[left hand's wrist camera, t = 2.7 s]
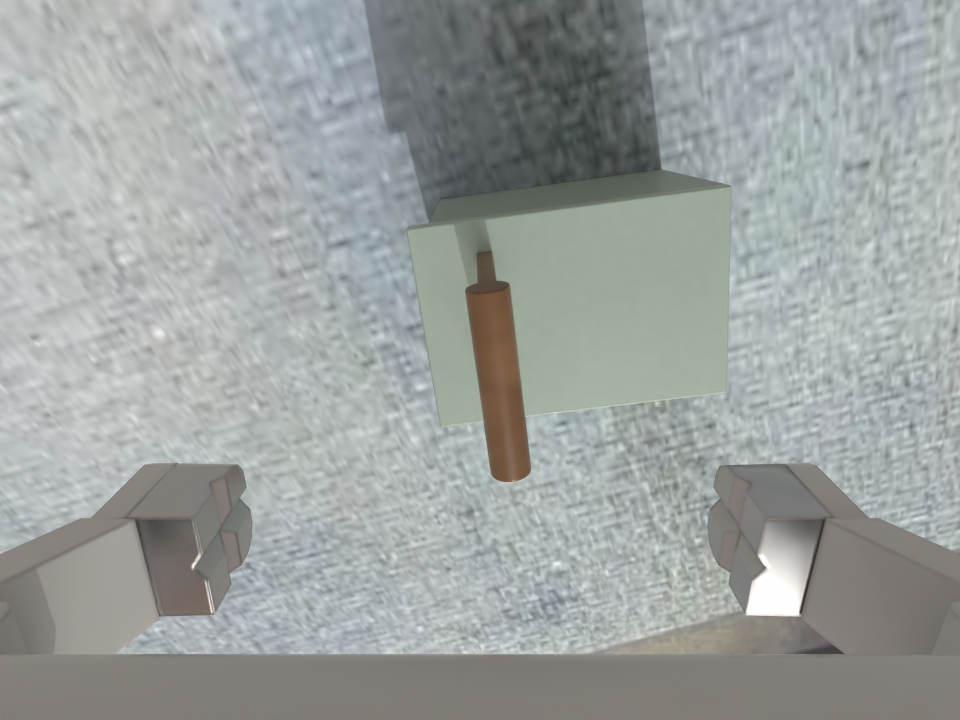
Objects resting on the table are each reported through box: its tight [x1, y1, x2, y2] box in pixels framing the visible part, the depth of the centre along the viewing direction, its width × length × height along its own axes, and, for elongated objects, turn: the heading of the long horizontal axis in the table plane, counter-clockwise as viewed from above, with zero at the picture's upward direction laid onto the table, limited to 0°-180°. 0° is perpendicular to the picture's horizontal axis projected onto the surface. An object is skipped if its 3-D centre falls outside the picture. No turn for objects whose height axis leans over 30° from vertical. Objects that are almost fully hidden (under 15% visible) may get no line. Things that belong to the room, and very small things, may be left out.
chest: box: [430, 170, 723, 223], centre depth 32 cm, size 13×10×9 cm
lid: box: [407, 184, 731, 482], centre depth 24 cm, size 14×10×8 cm
